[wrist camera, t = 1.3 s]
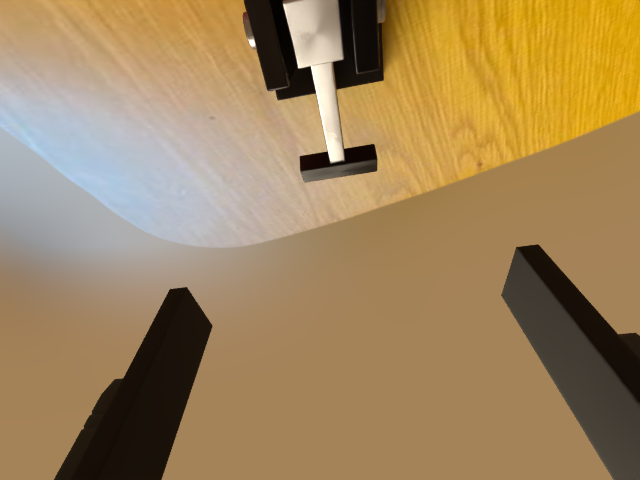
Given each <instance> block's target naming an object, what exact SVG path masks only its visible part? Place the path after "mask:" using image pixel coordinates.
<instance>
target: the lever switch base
mask: <svg viewBox="0 0 640 480" xmlns="http://www.w3.org/2000/svg"><path fill="white" fill-rule="evenodd" d="M339 3H340V14H341V25H342V36H343V47H344V59H343V60H339V61H335V62H333V68H334V75H335V83H336V89H341V88H346V87H352V86H357V85H362V84H368V83H373V82H378V81H383V80H384V75H383V48H382V22H384V21H385V16H386V0H339ZM244 4H245V8H246V11H247V12H244V13H243V23H244V28H245V32H246V36H247V39H248V42H249V44H250V46H251V48H252V49H254V50H255V49H257V53H258V57H259V61H260V65H261V68H262V72H263V76H264V80H265V84H266V87H267V90H268V91H273V90H275V91H276V95H277V99H278V100H283V99H288V98H294V97H299V96H304V95H310V94H315V93H316V91H315V86H314V81H313V76H312V71H311V66H310V67H305V68H298V67H297V63H296V59H295V55H294V51H293V47H292V43H291V39H290V35H289V30H288V26H287V22H286V18H285V14H284V10H283V6H282V0H244Z"/></svg>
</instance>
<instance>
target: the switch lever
mask: <svg viewBox="0 0 640 480" xmlns="http://www.w3.org/2000/svg"><path fill="white" fill-rule="evenodd" d="M282 6H283V10H284V14H285V18H286V22H287V26H288V30H289V35H290V39H291V43H292V47H293V51H294V55H295V59H296V63H297V67H298V68H305V67H310V66H311V71H312V76H313V81H314V86H315V91H316V96H317V101H318V105H319V110H320V115H321V120H322V125H323V130H324V135H325V140H326V145H327V150H328V152H322V153H316V154H310V155H304V156H300V171H301V174H302V177H303V180H304V182H311V181H318V180H324V179H330V178H337V177H343V176H350V175H356V174H363V173H369V172H376V171H377V155H376V150H375V145H374V144H371V145H365V146H359V147H353V148H347V149H344V145H343V137H342V129H341V122H340V114H339V106H338V98H337V91H336V83H335V75H334V68H333V62H335V61H339V60H343V59H344V47H343V36H342V25H341V14H340V3H339V0H282Z"/></svg>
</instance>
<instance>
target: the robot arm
mask: <svg viewBox="0 0 640 480" xmlns="http://www.w3.org/2000/svg"><path fill="white" fill-rule="evenodd" d="M501 296H502V297H503V299H504V300H505V302H506V304H507V306H508V307H509V309H510V310H511V312H512V314H513V315H514V317H515V319H516V320H517V322H518V324H519V325H520V327H521V328H522V330H523V332H524V333H525V335H526V337H527V338H528V340H529V342H530V343H531V345H532V347H533V348H534V350H535V352H536V353H537V355H538V356H539V358H540V360H541V361H542V363H543V365H544V366H545V368H546V370H547V371H548V373H549V375H550V376H551V378H552V379H553V381H554V383H555V384H556V386H557V388H558V389H559V391H560V393H561V394H562V396H563V397H564V399H565V401H566V402H567V404H568V406H569V407H570V409H571V411H572V412H573V414H574V415H575V417H576V419H577V421H578V422H579V424H580V425H581V427H582V428H583V430H584V432H585V434H586V435H587V437H588V438H589V440H590V442H591V444H592V445H593V447H594V448H595V450H596V452H597V453H598V455H599V457H600V458H601V460H602V462H603V463H604V465H605V467H606V468H607V470H608V471H609V473H610V475H611V476H612V478H613V480H640V336H639V335H638V334H636V333H629V334H617V333H616V332H615V330H614V329H613V328H612V327H611V326H610V325H609V324H608V323H607V321H606V320H605V319H604V318H603V317H602V316H601V315H600V314H599V313H598V311H597V310H596V309H595V308H594V307H593V306H592V305H591V303H590V302H589V301H588V300H587V299H586V298H585V297H584V295H582V293H581V292H580V291H579V290H578V289H577V288H576V286H575V285H574V284H573V283H572V282H571V281H570V280H569V279H568V278H567V276H566V275H565V274H564V273H563V272H562V271H561V270H560V269H559V267H558V266H557V265H556V264H555V263H554V262H553V261H552V259H551V258H550V257H549V256H548V255H547V254H546V253H545V252H544V250H543V249H542V248H541V247H540V246H539V245H530V246H522V247H516V250H515V254H514V257H513V260H512V263H511V267H510V270H509V273H508V276H507V279H506V282H505V285H504V289H503V292H502V295H501ZM211 329H212V324H211V323H210V321H209V320H208V318H207V317H206V316H205V314H204V312H203V311H202V309H201V308H200V306H199V305H198V303H197V302H196V301H195V299H194V297H193V296H192V294H191V293H190V291H189V290H188V288H187V287H185V288H177V289H170V290H169V292H168V294H167V296H166V298H165V300H164V302H163V304H162V306H161V307H160V309H159V311H158V313H157V315H156V317H155V319H154V321H153V323H152V325H151V326H150V329H149V331H148V332H147V334H146V337H145V338H144V340H143V342H142V344H141V346H140V348H139V349H138V351H137V353H136V355H135V357H134V359H133V361H132V363H131V365H130V367H129V369H128V371H127V372H126V375H125V376H124V378H123V379H115V380H114V381H113V382H112V383H111V384H110V385H109V386H108V388H107V389H106V390H105V391H104V392H103V393H102V395H101V396H100V398H99V400H98V401H97V403H96V405H95V407H94V409H93V410H92V415H90V416H89V418H88V419H87V421H86V423H85V425H84V429H83V430H81V432H80V434H79V436H78V437H77V439H76V441H75V443H74V445H73V446H72V448H71V450H70V452H69V453H68V455H67V457H66V459H65V461H64V463H63V464H62V466H61V468H60V470H59V471H58V473H57V475H56V477H55V479H54V480H161V479H162V476H163V473H164V470H165V467H166V464H167V461H168V458H169V455H170V452H171V449H172V446H173V443H174V440H175V437H176V434H177V431H178V428H179V425H180V422H181V419H182V416H183V413H184V410H185V407H186V404H187V401H188V398H189V395H190V392H191V389H192V386H193V383H194V380H195V377H196V374H197V371H198V368H199V365H200V362H201V359H202V356H203V353H204V350H205V347H206V344H207V341H208V338H209V335H210V332H211Z"/></svg>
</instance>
